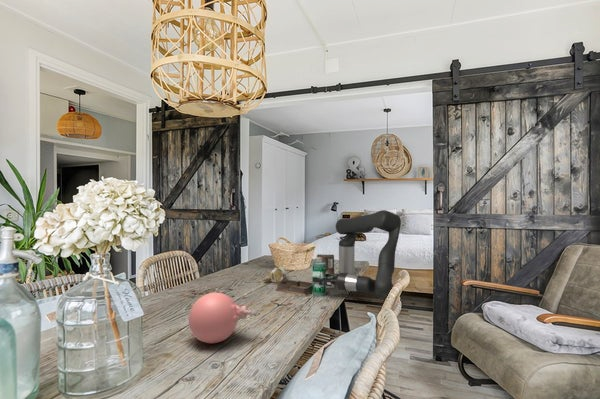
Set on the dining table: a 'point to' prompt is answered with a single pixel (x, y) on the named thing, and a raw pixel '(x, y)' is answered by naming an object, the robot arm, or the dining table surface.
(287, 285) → the brown open tray
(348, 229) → the robot arm
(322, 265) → the can
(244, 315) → the balloon
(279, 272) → the ceramic sculpture
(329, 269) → the coffee box
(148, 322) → the dining table surface
